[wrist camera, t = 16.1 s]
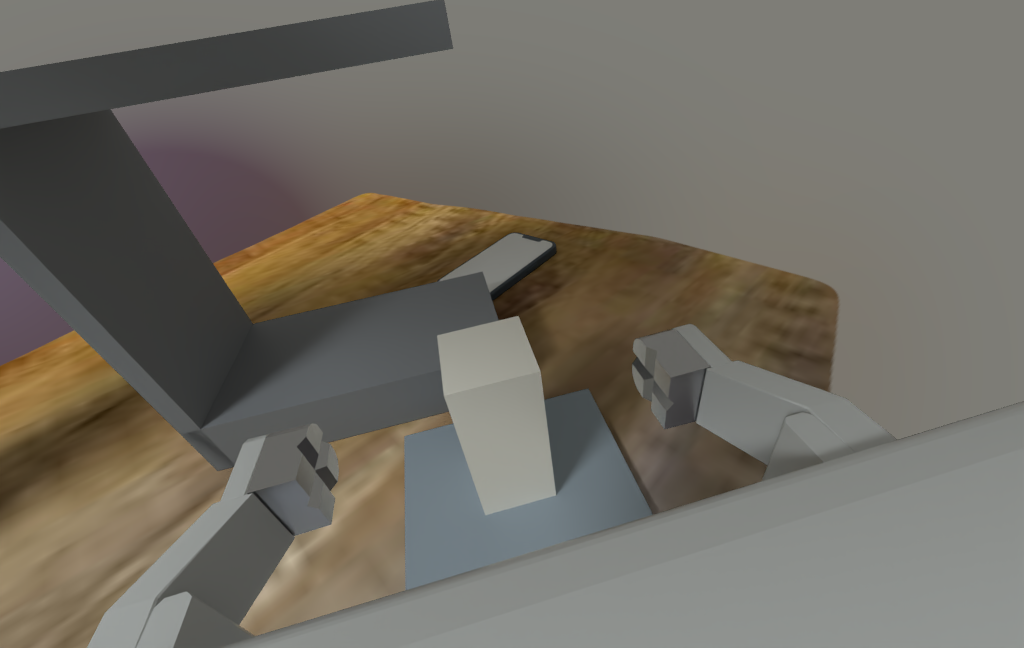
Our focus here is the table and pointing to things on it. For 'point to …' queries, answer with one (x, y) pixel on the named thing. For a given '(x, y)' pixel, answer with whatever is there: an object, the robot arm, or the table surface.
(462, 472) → the mat
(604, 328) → the table surface
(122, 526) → the table surface
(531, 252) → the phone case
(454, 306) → the grey c-shaped bracket
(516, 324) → the block
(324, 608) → the table surface
